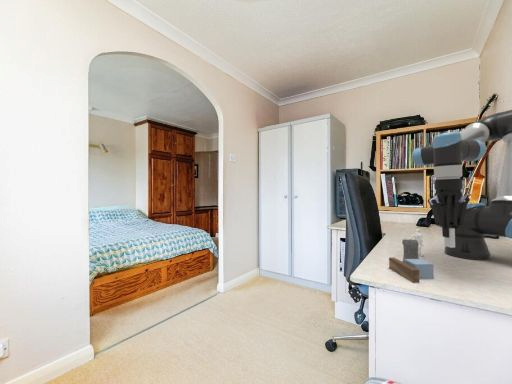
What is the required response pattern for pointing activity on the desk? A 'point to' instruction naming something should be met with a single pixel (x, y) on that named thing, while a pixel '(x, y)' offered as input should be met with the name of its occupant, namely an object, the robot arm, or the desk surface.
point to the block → (422, 267)
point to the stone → (410, 249)
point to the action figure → (419, 239)
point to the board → (404, 269)
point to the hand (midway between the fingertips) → (449, 246)
